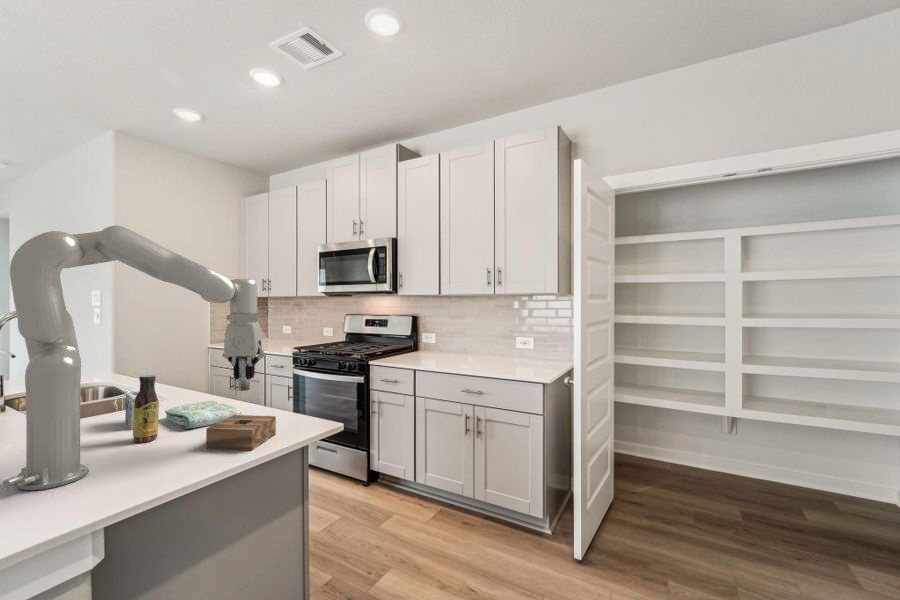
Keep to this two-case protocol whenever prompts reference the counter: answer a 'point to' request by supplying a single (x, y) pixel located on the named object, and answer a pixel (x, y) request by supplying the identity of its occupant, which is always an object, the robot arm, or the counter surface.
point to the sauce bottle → (146, 411)
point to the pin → (243, 374)
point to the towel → (200, 414)
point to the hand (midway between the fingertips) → (244, 377)
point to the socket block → (240, 432)
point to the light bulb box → (130, 408)
